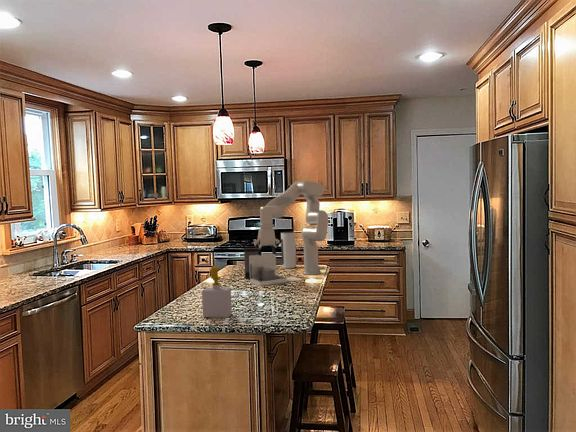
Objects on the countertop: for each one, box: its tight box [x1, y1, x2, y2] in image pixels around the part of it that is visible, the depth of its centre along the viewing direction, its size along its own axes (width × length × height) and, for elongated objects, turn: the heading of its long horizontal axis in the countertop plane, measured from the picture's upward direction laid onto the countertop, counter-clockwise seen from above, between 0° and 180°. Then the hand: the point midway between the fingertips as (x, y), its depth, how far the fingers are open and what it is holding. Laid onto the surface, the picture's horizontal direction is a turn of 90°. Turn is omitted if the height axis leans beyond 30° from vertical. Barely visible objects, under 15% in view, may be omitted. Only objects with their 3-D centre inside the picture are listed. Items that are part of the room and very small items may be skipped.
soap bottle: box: [201, 265, 233, 319], centre depth 227 cm, size 12×7×23 cm, turn 80°
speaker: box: [280, 231, 297, 269], centre depth 356 cm, size 11×10×26 cm
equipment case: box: [249, 252, 288, 287], centre depth 301 cm, size 18×14×17 cm
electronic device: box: [243, 247, 258, 280], centre depth 316 cm, size 9×6×20 cm, turn 84°
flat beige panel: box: [286, 276, 304, 283], centre depth 309 cm, size 10×12×1 cm
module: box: [262, 268, 275, 281], centre depth 301 cm, size 5×7×8 cm
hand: (267, 254), depth 300 cm, fingers open, 9 cm apart
